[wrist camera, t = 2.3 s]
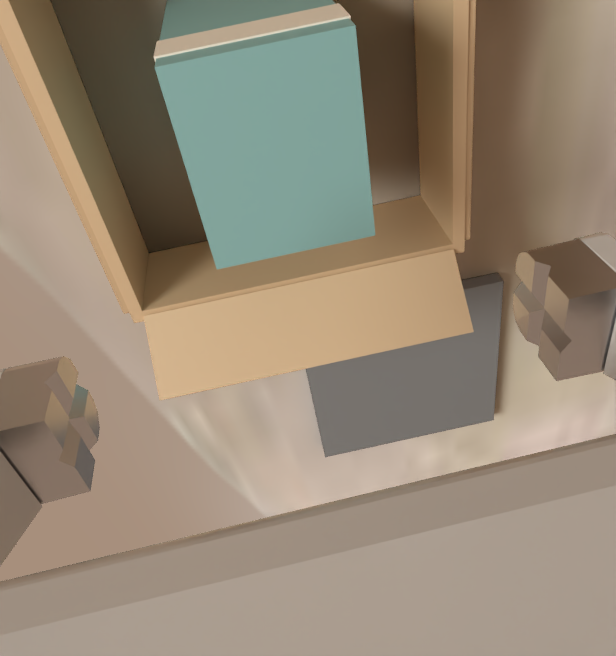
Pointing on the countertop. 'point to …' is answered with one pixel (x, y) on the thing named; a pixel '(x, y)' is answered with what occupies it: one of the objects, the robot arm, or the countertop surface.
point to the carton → (283, 271)
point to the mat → (413, 382)
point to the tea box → (268, 123)
